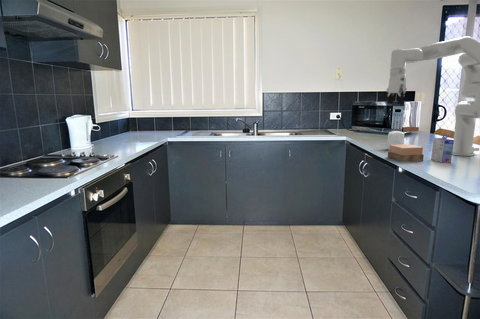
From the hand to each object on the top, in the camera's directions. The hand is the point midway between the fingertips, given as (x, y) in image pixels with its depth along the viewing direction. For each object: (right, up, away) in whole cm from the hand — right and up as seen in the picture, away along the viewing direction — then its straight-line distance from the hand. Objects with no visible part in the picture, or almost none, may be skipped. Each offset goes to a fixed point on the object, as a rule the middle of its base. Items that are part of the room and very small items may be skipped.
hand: (395, 103), depth 177 cm
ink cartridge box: (+22, -33, -7) cm, 40 cm away
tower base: (+6, -32, 0) cm, 33 cm away
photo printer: (+16, -25, +32) cm, 44 cm away
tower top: (+6, -28, 0) cm, 29 cm away
